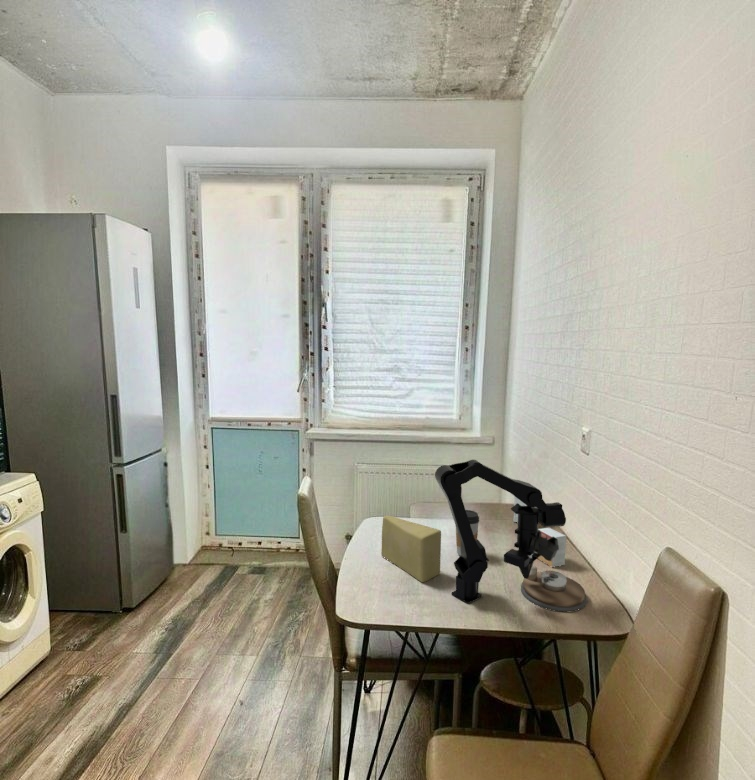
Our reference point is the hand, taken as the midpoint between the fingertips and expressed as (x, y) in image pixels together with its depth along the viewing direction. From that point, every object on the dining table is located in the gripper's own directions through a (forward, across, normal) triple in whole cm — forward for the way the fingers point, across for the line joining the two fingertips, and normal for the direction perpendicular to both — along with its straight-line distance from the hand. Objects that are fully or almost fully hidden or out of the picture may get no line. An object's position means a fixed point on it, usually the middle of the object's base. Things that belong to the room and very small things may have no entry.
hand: (525, 578), depth 132 cm
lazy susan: (+3, +5, -6) cm, 9 cm away
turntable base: (+5, +5, -6) cm, 9 cm away
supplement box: (+5, +54, +24) cm, 60 cm away
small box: (+5, +26, +2) cm, 26 cm away
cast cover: (+2, +5, -6) cm, 8 cm away
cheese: (+5, -11, +36) cm, 38 cm away
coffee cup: (+5, +10, +26) cm, 29 cm away
